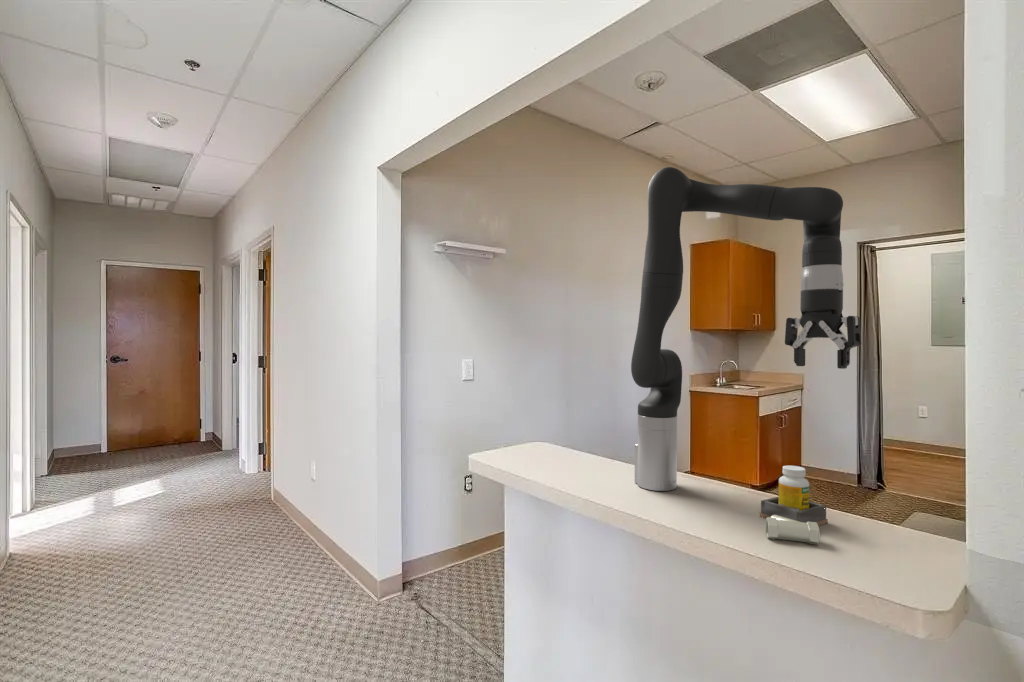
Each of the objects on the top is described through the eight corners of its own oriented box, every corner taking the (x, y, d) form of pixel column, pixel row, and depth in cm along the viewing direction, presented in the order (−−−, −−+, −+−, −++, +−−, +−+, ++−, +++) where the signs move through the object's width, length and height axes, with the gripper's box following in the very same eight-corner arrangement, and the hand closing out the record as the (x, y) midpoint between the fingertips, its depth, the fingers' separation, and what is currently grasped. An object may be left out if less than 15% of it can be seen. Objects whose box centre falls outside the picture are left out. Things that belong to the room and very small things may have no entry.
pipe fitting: (763, 531, 98) (768, 541, 91) (763, 510, 98) (768, 519, 91) (810, 536, 95) (819, 548, 89) (810, 515, 95) (819, 525, 89)
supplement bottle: (782, 509, 106) (782, 462, 106) (811, 515, 102) (812, 467, 102) (775, 516, 102) (775, 467, 102) (805, 522, 98) (806, 472, 98)
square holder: (759, 516, 104) (759, 500, 104) (785, 510, 108) (785, 494, 108) (800, 530, 96) (801, 513, 96) (827, 523, 100) (827, 506, 100)
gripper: (777, 290, 110) (777, 366, 111) (847, 284, 98) (846, 369, 98) (799, 292, 114) (798, 365, 114) (868, 286, 102) (868, 368, 102)
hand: (820, 367), depth 106 cm, fingers open, 8 cm apart
